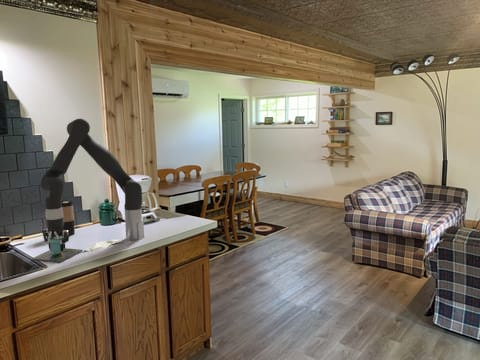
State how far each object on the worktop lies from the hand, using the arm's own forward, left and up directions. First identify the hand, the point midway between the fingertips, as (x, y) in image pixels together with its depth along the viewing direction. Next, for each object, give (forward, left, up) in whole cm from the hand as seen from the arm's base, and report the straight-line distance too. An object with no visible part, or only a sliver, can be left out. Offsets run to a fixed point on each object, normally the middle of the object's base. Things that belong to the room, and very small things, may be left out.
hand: (57, 250), depth 178 cm
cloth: (-13, -19, -4) cm, 24 cm away
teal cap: (0, 0, -1) cm, 1 cm away
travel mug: (+19, -32, -3) cm, 37 cm away
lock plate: (0, 0, -3) cm, 3 cm away
